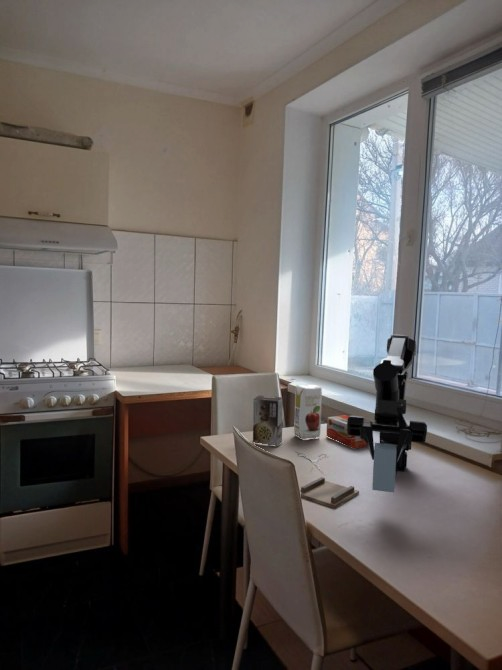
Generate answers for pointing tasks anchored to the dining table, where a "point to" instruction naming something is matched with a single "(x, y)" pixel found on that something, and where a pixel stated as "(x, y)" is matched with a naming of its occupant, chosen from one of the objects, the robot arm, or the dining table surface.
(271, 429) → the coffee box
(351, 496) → the walnut groove board
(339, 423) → the medicine box
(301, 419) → the juice carton
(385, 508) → the dining table surface
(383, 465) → the slate-blue block
